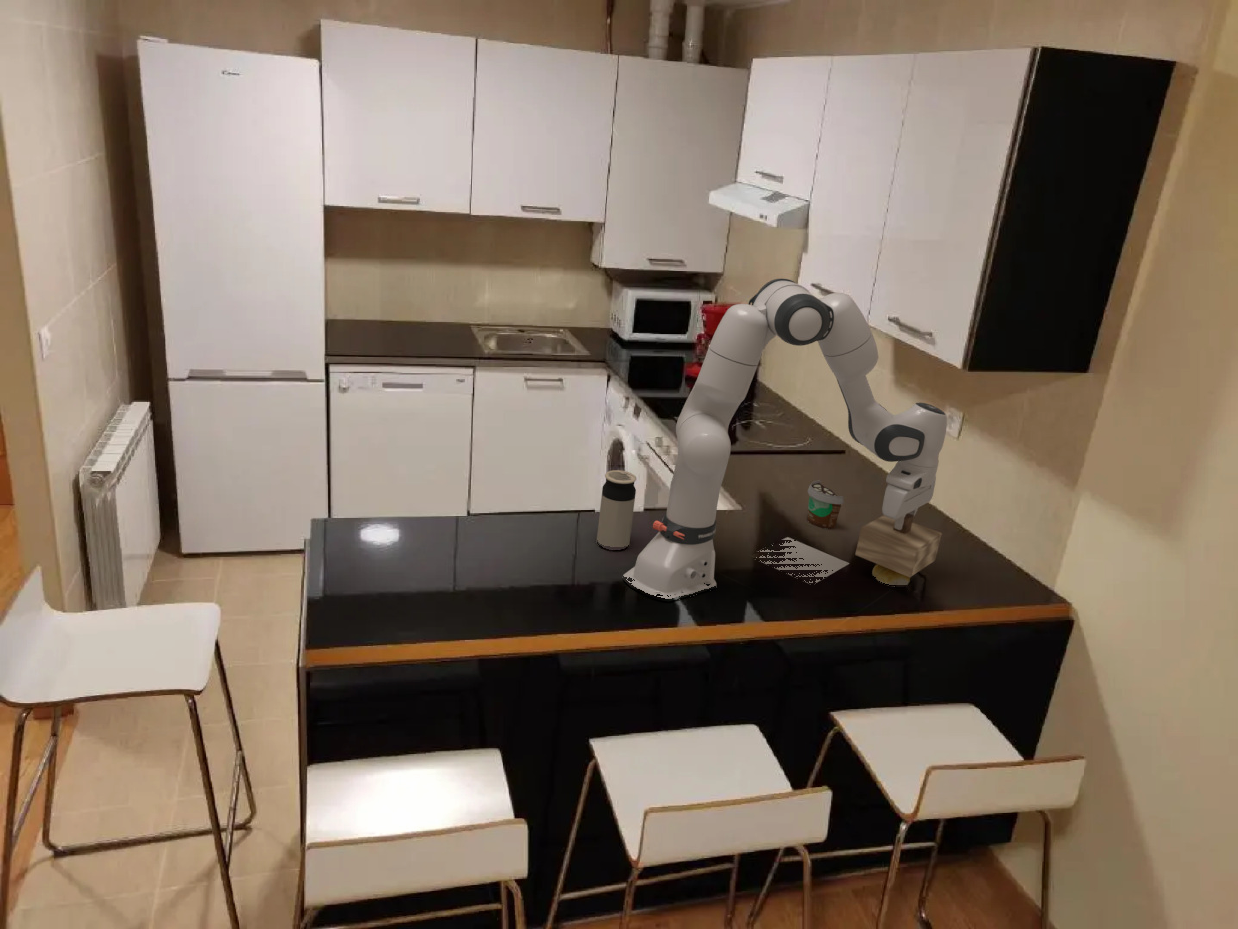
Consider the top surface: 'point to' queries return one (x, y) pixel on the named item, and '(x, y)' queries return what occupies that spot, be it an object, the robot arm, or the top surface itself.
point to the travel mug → (616, 509)
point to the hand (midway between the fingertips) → (902, 526)
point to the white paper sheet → (807, 559)
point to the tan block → (898, 545)
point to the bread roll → (889, 576)
